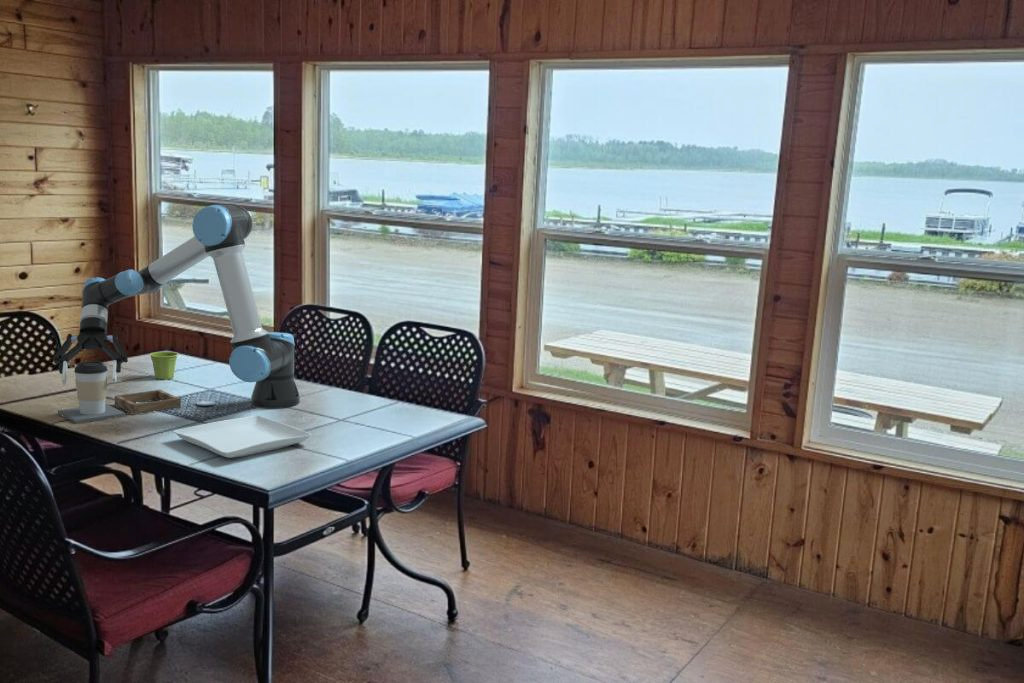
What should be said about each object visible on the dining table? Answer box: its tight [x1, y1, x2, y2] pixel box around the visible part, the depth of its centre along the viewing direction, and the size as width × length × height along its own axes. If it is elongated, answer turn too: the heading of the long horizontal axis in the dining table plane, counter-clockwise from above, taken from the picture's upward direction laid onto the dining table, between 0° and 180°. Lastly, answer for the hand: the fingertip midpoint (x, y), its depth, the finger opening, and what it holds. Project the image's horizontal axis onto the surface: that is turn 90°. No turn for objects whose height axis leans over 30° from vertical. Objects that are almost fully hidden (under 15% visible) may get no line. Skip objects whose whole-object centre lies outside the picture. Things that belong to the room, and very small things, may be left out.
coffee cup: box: [73, 360, 109, 415], centre depth 269 cm, size 9×9×15 cm
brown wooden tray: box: [114, 389, 182, 415], centre depth 282 cm, size 14×14×3 cm
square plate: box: [172, 415, 312, 459], centre depth 250 cm, size 27×27×4 cm
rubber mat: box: [57, 403, 126, 424], centre depth 270 cm, size 14×14×1 cm
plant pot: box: [149, 351, 179, 380], centre depth 320 cm, size 9×9×9 cm
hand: (89, 381), depth 268 cm, fingers open, 13 cm apart
